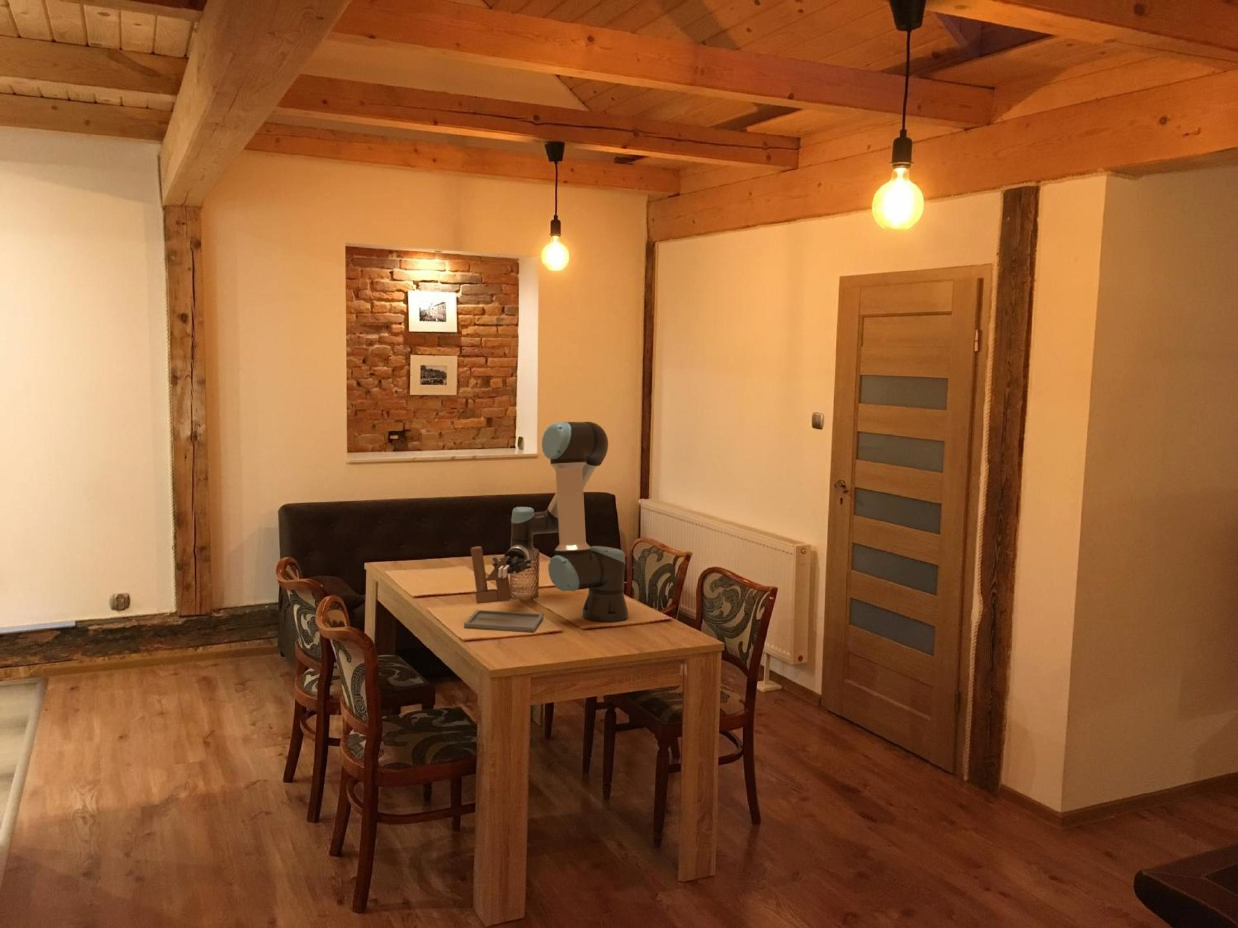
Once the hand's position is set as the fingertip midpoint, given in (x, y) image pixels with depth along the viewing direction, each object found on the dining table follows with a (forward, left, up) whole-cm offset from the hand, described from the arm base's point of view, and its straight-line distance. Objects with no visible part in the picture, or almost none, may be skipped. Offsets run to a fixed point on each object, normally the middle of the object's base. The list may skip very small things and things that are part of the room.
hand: (501, 573), depth 331 cm
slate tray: (+2, -5, -17) cm, 18 cm away
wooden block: (+6, -5, -11) cm, 13 cm away
